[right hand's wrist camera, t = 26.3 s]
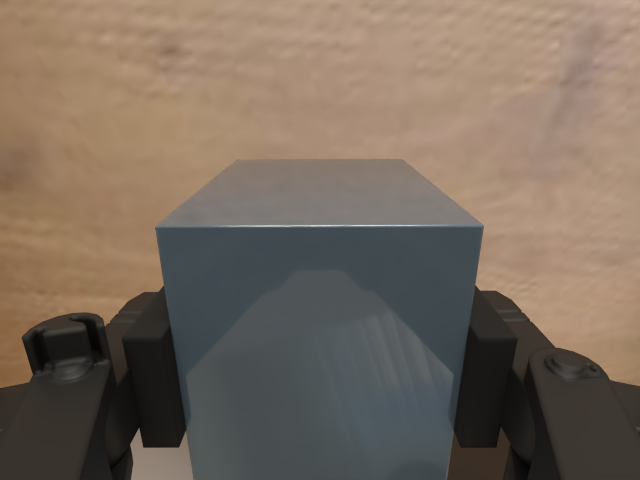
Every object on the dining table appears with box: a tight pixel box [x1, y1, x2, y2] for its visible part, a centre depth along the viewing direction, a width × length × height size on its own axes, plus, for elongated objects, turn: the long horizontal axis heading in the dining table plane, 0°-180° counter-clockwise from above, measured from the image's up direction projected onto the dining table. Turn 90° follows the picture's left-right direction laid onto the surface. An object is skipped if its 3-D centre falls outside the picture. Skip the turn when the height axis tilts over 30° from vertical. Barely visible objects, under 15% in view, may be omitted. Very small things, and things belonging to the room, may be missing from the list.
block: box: [155, 159, 484, 480], centre depth 12 cm, size 7×6×8 cm
